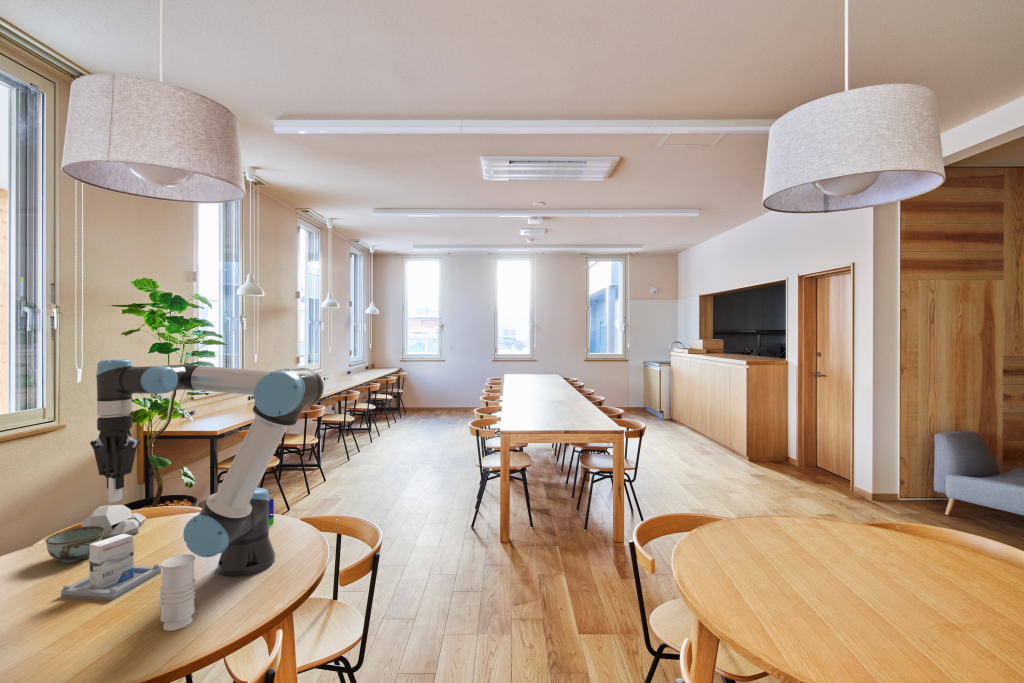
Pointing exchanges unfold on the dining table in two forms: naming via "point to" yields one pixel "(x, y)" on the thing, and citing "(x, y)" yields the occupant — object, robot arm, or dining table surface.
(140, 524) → the rock
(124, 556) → the ink box
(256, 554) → the robot arm
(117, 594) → the grey square tray
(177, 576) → the white ribbed cylinder
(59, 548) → the bowl
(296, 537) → the dining table surface
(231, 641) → the dining table surface
